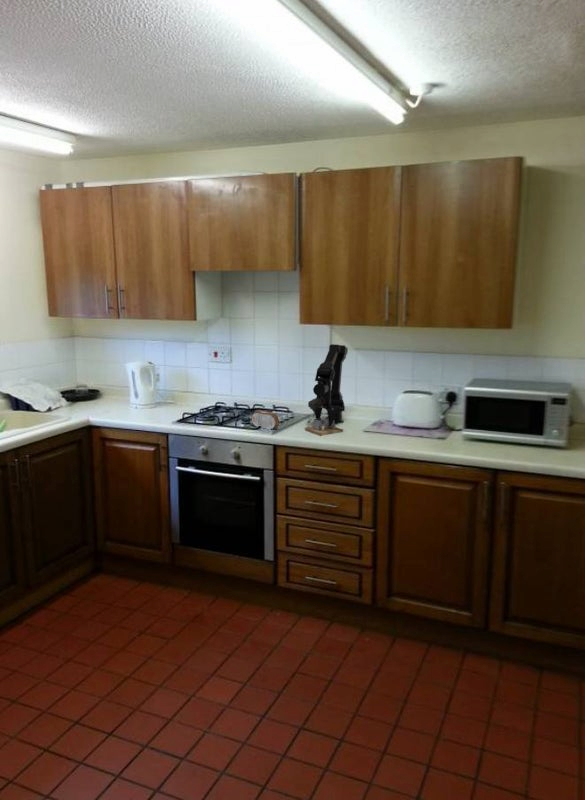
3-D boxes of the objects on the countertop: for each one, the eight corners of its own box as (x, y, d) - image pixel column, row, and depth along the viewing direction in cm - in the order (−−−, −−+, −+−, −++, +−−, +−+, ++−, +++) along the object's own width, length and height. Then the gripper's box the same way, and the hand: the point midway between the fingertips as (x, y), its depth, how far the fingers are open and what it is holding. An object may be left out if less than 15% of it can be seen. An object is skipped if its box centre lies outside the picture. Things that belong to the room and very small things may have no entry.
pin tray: (327, 426, 319) (327, 419, 318) (342, 431, 309) (343, 424, 309) (304, 430, 311) (304, 422, 310) (320, 435, 301) (320, 428, 301)
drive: (328, 426, 315) (328, 416, 314) (334, 428, 312) (334, 418, 311) (313, 429, 308) (313, 419, 307) (318, 431, 305) (319, 420, 304)
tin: (279, 429, 311) (279, 412, 310) (276, 431, 309) (276, 414, 307) (253, 425, 319) (253, 409, 317) (250, 426, 316) (250, 410, 314)
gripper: (299, 390, 309) (299, 422, 312) (324, 397, 294) (323, 430, 297) (317, 388, 315) (317, 419, 319) (342, 394, 301) (341, 427, 304)
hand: (324, 424), depth 309 cm, fingers open, 9 cm apart
